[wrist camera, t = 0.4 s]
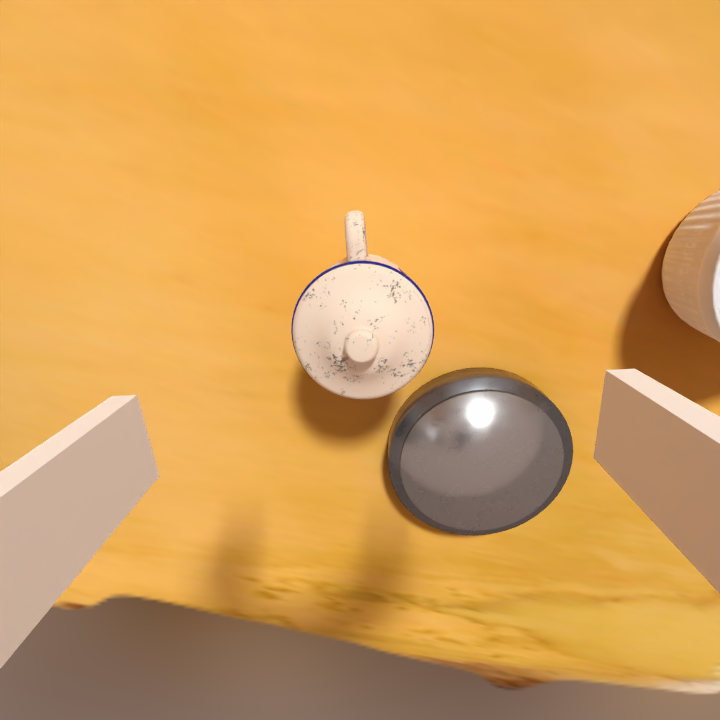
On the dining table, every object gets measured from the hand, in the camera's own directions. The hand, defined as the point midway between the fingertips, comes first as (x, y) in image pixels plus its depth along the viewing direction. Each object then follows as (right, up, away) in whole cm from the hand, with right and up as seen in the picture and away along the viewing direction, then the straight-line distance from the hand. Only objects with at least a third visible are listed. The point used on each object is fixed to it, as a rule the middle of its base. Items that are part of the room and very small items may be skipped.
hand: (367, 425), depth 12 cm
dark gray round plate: (+10, -6, +26) cm, 29 cm away
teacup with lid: (0, +8, +22) cm, 23 cm away
